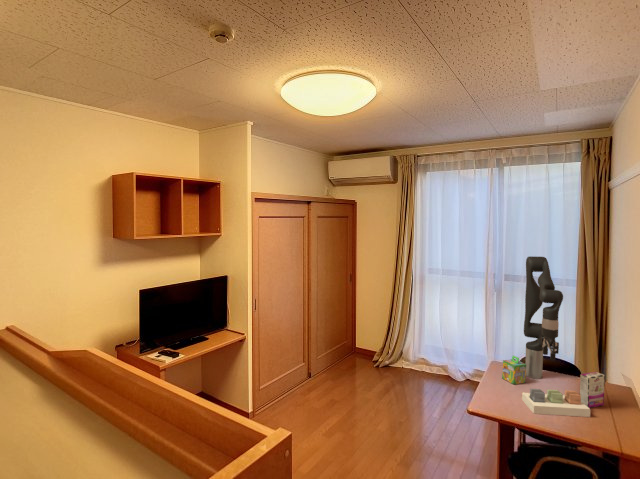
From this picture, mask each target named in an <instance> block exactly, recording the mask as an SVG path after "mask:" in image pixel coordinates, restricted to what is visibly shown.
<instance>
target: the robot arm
mask: <svg viewBox="0 0 640 479" xmlns="http://www.w3.org/2000/svg"><path fill="white" fill-rule="evenodd" d="M533 272H534V273H541V274H540V275H539V276H538V278H537V282H536V280H535V278H534V273H533ZM525 275H526V276H525V279H526V280H525V281H526V282H525V283H526V284H525V295H524V299H525V300H524V301H525V302H524V303H525V309H524V311H525V312H524V321H523V322H524V323H523V335H524V336H525V337H526V338H531V339H534V340H531V341H527V342H526V343H525V359H524V360H525V362H524V363H525V364H526V377H528V378H531V379H542V378H543V369H544V368H543V367H544V366H543V363H544V362H543V361H544V356H548V354H549V352H550V354H549V357H550V358H549V359H550V360H551V361H556V354H557V355H558V354H559V350H560V349H559V348H560V343H559V342H558V341H556V339H557V338H558V337H559V325H560V324H559V311H560V310H561V309H560V308H561V305H562V303H563V301H564V294H563V292H562V291H561V290H558V289H556V286H555V284H554V281H553V279H552V275H551V270H550V266H549V261H548V259H547V258H546V257H545V256H527V257H526V260H525ZM543 303H545V304H552V305H551V306H545V307H543V309H542V319H541V320H542V321H541V323H538V322H531V320H532V318H533V316H534V315H535V314H536V312H537V311H539V310H540V308H542V306H543Z"/></svg>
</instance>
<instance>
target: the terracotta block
mask: <svg viewBox="0 0 640 479" xmlns="http://www.w3.org/2000/svg"><path fill="white" fill-rule="evenodd" d="M564 395H565V401H567V402H568V403H569V404H576V405H581V395H580V393H579V392H577V391H576V390H564Z"/></svg>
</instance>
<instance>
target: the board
mask: <svg viewBox="0 0 640 479" xmlns="http://www.w3.org/2000/svg"><path fill="white" fill-rule="evenodd" d="M521 400H522V402H523V403H524V404H525V405H526V407H527V408H528V409H529V410H530V411H531V412H532V413H533V414H535V415H550V416H551V415H552V416H565V417H566V416H570V417H582V418H583V417H585V418H591V408H588V407H587V406H586V405H585V404H584V403H582V402H581V405H576V404H569V403H568V402H567V401H565V394H563V404H559V403H551V402H550V401H549V400H548V399H547V393H545V403H542V402H533V401H532V400H531V399H530V392H521Z"/></svg>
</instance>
